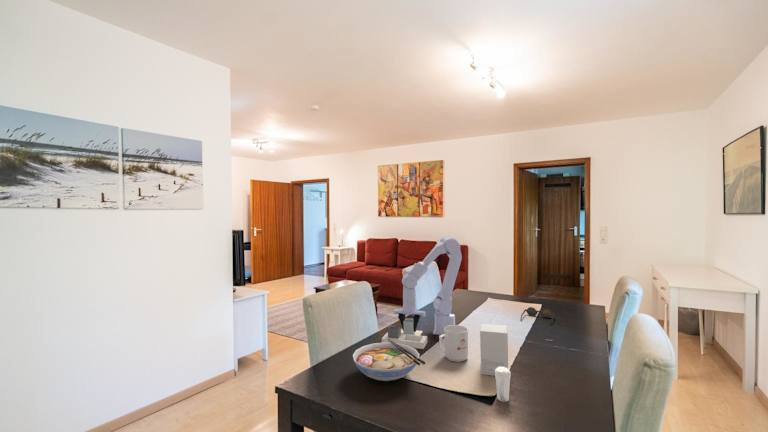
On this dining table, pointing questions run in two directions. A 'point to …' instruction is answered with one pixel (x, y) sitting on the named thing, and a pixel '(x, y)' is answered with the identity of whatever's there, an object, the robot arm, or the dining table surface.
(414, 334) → the pad
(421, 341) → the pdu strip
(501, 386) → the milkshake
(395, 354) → the ramen bowl
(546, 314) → the eyeglasses
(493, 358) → the supplement box
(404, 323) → the plug block
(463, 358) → the mug
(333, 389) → the dining table surface
